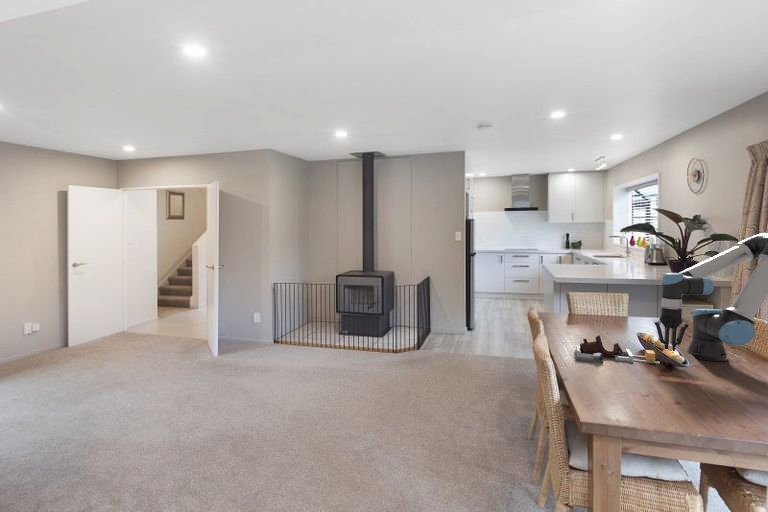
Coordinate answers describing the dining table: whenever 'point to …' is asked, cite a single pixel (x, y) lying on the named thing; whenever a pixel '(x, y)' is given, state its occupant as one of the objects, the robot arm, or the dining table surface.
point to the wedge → (649, 355)
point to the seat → (598, 358)
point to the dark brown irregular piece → (599, 348)
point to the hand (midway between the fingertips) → (669, 358)
